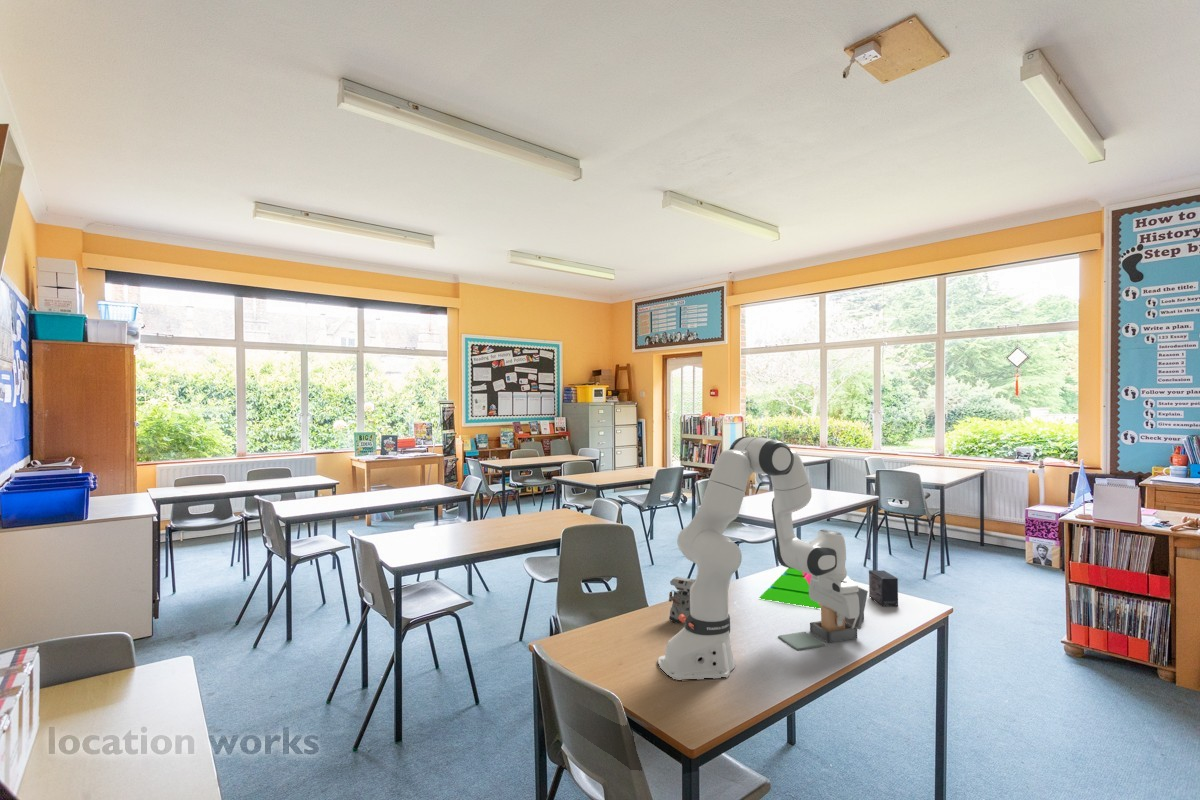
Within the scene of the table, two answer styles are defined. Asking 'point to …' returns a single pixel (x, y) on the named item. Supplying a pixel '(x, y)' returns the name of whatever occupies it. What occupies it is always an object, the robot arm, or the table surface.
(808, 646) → the rubber mat
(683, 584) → the figurine
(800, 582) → the pyramid toy
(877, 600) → the small box
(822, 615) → the block
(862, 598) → the equipment case
